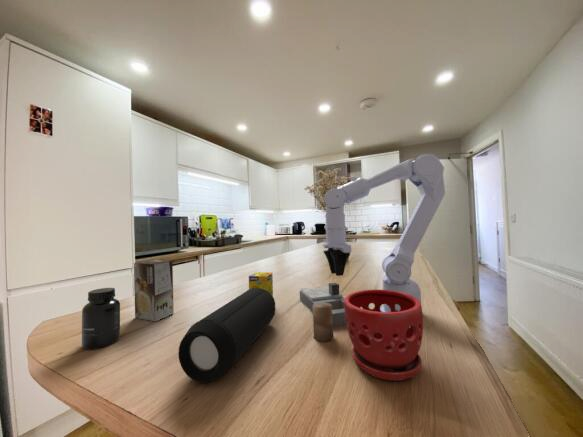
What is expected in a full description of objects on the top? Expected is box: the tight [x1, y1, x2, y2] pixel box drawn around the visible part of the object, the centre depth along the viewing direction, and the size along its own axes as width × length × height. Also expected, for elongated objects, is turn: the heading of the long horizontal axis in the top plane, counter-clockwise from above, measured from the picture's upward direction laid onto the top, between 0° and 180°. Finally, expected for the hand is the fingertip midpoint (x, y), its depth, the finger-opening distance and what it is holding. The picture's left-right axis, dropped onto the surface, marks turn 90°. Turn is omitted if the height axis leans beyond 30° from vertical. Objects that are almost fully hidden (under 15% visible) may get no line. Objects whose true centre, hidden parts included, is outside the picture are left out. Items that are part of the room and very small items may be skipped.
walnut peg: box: [312, 303, 334, 342], centre depth 53 cm, size 4×4×7 cm
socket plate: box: [299, 290, 347, 327], centre depth 70 cm, size 10×22×3 cm, turn 15°
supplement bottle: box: [81, 287, 121, 351], centre depth 53 cm, size 7×7×12 cm
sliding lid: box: [300, 282, 343, 301], centre depth 75 cm, size 10×11×4 cm
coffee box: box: [133, 259, 175, 322], centre depth 69 cm, size 9×6×16 cm
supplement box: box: [248, 271, 274, 297], centre depth 71 cm, size 6×6×11 cm
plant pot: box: [344, 288, 424, 382], centre depth 42 cm, size 13×13×12 cm
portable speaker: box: [177, 288, 276, 383], centre depth 50 cm, size 26×10×10 cm, turn 165°
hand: (337, 274), depth 70 cm, fingers open, 3 cm apart
